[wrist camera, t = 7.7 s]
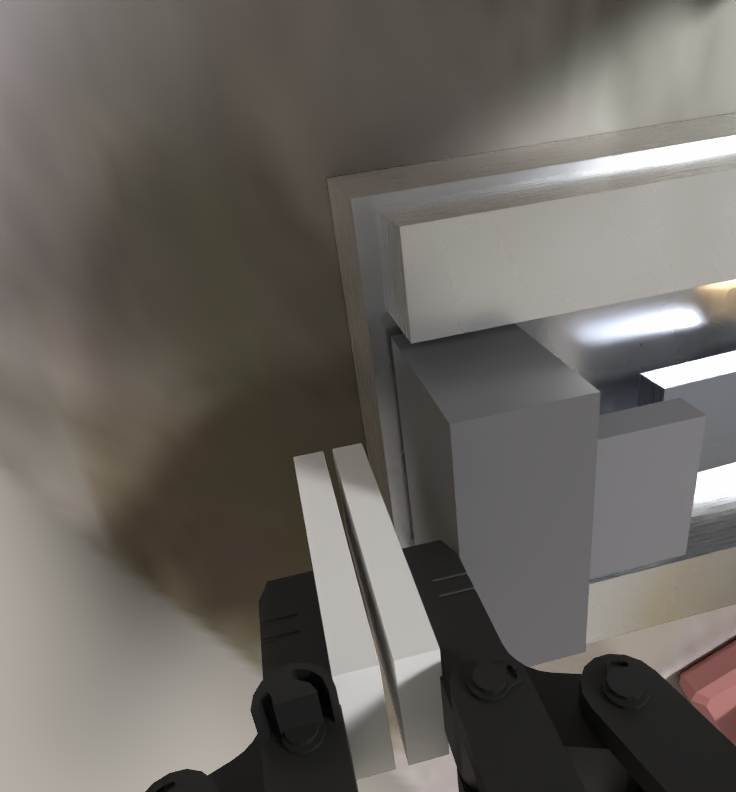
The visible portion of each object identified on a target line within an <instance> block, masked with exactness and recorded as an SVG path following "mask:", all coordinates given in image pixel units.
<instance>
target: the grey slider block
mask: <svg viewBox="0 0 736 792" xmlns="http://www.w3.org/2000/svg"><path fill="white" fill-rule="evenodd" d="M391 342H392V351H393V360H394V369H395V377H396V386H397V395H398V403H399V412H400V421H401V429H402V438H403V447H404V455H405V464H406V473H407V481H408V490H409V499H410V507H411V516H412V525H413V533H414V542H415V545H420V544H424V543H428V542H433V541H437V540H441V541H443V542H444V543H445V544H446V545H448V546H449V547H450V548H451V549H453V550H454V551H455V552H456V553H457V554H458V556H459V558H460V560H461V562H462V564H463V566H464V568H465V570H466V573H467V575H468V576H469V578H470V580H471V582H472V584H473V586H474V589H475V590H476V592H477V594H478V596H479V598H480V600H481V602H482V604H483V606H484V608H485V610H486V612H487V614H488V616H489V618H490V620H491V622H492V624H493V626H494V628H495V630H496V632H497V634H498V636H499V638H500V640H501V642H502V644H503V645H504V647H505V648H506V650H507V651H508V653H509V654H510V655H511V656H513V657H514V658H515V659H516V660H517V661H519V662H520V663H522V664H524V665H525V666H527V667H530V666H534V665H537V664H541V663H545V662H549V661H552V660H556V659H560V658H563V657H567V656H571V655H574V654H578V653H582V652H585V650H586V633H587V616H588V598H589V581H590V579H591V578H595V577H599V576H603V575H607V574H611V573H615V572H619V571H623V570H627V569H631V568H634V567H638V566H642V565H646V564H650V563H654V562H658V561H662V560H666V559H670V558H674V557H678V556H681V555H685V554H686V549H687V542H688V535H689V529H690V522H691V516H692V509H693V502H694V496H695V489H696V483H697V476H698V470H699V463H700V456H701V450H702V443H703V437H704V430H705V423H706V417H707V415H705V414H704V413H702V412H701V411H699V410H698V409H696V408H695V407H694V406H692V405H691V404H689V403H688V402H686V401H685V400H683V399H682V398H675V399H671V400H666V401H662V402H657V403H653V404H648V405H644V406H639V407H635V408H630V409H626V410H621V411H617V412H612V413H607V414H603V415H599V410H600V393H601V392H600V391H599V390H598V389H596V388H595V387H594V386H593V385H591V384H590V383H589V382H588V381H586V380H585V379H584V378H583V377H581V376H580V375H579V374H578V373H576V372H575V371H574V370H573V369H571V368H570V367H569V366H568V365H566V364H565V363H564V362H563V361H561V360H560V359H559V358H557V357H556V356H555V355H554V354H552V353H551V352H550V351H549V350H547V349H546V348H545V347H544V346H542V345H541V344H540V343H539V342H537V341H536V340H535V339H534V338H532V337H531V336H530V335H529V334H527V333H526V332H525V331H524V330H522V329H521V328H520V327H519V326H517V325H516V324H515V323H513V324H508V325H503V326H498V327H493V328H488V329H483V330H478V331H473V332H468V333H462V334H457V335H452V336H447V337H442V338H437V339H432V340H427V341H422V342H417V343H412V344H411V343H410V341H409V340H408V338H407V337H406V336H405V334H399V335H394V336H391Z"/></svg>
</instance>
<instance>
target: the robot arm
mask: <svg viewBox="0 0 736 792" xmlns="http://www.w3.org/2000/svg"><path fill="white" fill-rule="evenodd" d="M332 451H333V457H334V463H335V469H336V474H337V480H338V486H339V492H340V498H341V504H342V510H343V515H344V521H345V527H346V533H347V537H348V541H349V544H350V548H351V552H352V556H353V559H354V563H355V567H356V570H357V574H358V578H359V582H360V585H361V589H362V593H363V597H364V600H365V604H366V608H367V612H368V615H369V619H370V623H371V627H372V630H373V634H374V638H375V641H376V645H377V649H378V653H379V656H380V660H381V664H382V668H383V671H384V675H385V679H386V683H387V686H388V690H389V694H390V697H391V701H392V705H393V709H394V712H395V716H396V720H397V724H398V727H399V731H400V735H401V739H402V742H403V746H404V750H405V754H406V757H407V761H408V765H412V764H415V763H419V762H422V761H426V760H430V759H433V758H437V757H440V756H444V755H447V754H449V745H450V748H451V751H452V754H453V757H454V759H455V762H456V765H457V775H458V787H459V792H736V746H735V745H734V744H733V743H732V742H731V741H730V740H729V739H728V738H727V737H726V736H725V735H723V734H722V733H721V732H720V731H719V730H718V729H717V728H716V727H715V726H714V725H713V724H712V723H711V722H710V721H709V720H707V719H706V718H705V717H704V716H703V715H702V714H701V713H700V712H699V711H698V710H697V709H696V708H695V707H694V706H693V705H691V704H690V703H689V702H688V701H687V700H686V699H685V698H684V697H683V696H682V695H681V694H680V693H679V692H678V691H677V690H675V689H674V688H673V687H672V686H671V685H670V684H669V683H668V682H667V681H666V680H665V679H664V678H663V677H662V676H661V675H659V674H658V673H657V672H656V671H655V670H654V669H652V668H651V667H649V666H648V665H647V664H645V663H644V662H642V661H641V660H638V659H635V658H632V657H629V656H626V655H618V654H607V655H603V656H600V657H596V658H594V659H593V660H592V661H590V662H589V663H588V664H587V665H586V666H585V667H584V670H583V673H582V674H567V673H550V672H543V671H538V670H535V669H533V668H530V667H527V666H525V665H524V664H522V663H520V662H519V661H517V660H516V659H515V658H514V657H513V656H511V655H510V654H509V653H508V651H507V650H506V648H505V647H504V645H503V644H502V642H501V640H500V638H499V636H498V634H497V632H496V630H495V628H494V626H493V624H492V622H491V620H490V618H489V616H488V614H487V612H486V610H485V608H484V606H483V604H482V602H481V600H480V598H479V596H478V594H477V592H476V590H475V589H474V586H473V584H472V582H471V580H470V578H469V576H468V575H467V573H466V570H465V568H464V566H463V564H462V562H461V560H460V558H459V556H458V554H457V553H456V552H455V551H454V550H453V549H451V548H450V547H449V546H448V545H446V544H445V543H444V542H443V541H441V540H437V541H433V542H428V543H424V544H420V545H415V546H411V547H407V548H403V549H402V548H401V546H400V543H399V540H398V538H397V535H396V532H395V530H394V527H393V525H392V522H391V519H390V517H389V514H388V511H387V509H386V506H385V503H384V501H383V498H382V496H381V493H380V490H379V488H378V485H377V482H376V480H375V477H374V475H373V472H372V469H371V467H370V464H369V461H368V459H367V456H366V453H365V451H364V448H363V446H362V443H359V444H354V445H349V446H344V447H339V448H335V449H332ZM293 459H294V464H295V470H296V475H297V481H298V487H299V492H300V498H301V504H302V509H303V515H304V521H305V526H306V532H307V538H308V543H309V549H310V555H311V560H312V566H313V571H310V572H306V573H302V574H298V575H293V576H289V577H285V578H280V579H276V580H272V581H268V582H267V584H266V586H265V589H264V591H263V593H262V595H261V598H260V600H259V615H260V626H261V627H260V633H261V643H262V644H261V650H262V667H263V681H261V683H260V685H259V686H258V688H257V690H256V692H255V693H254V695H253V699H252V705H251V713H252V717H253V720H254V723H255V726H256V729H257V732H258V734H257V736H256V737H255V739H254V741H253V742H252V743H251V744H250V745H249V746H248V748H247V749H246V750H245V751H244V752H243V753H241V754H240V755H239V756H237V757H236V758H235V759H233V760H232V761H230V762H229V763H227V764H226V765H224V766H222V767H221V768H219V769H217V770H216V771H214V772H213V773H211V774H209V775H208V776H207V775H206V774H204V773H203V772H201V771H196V770H190V769H185V770H181V771H176V772H172V773H169V774H167V775H166V776H164V777H163V778H161V779H159V780H158V781H156V782H154V783H153V784H152V785H151V786H150V787H149V788H148V790H147V791H146V792H358V787H357V782H356V780H358V779H362V778H365V777H369V776H372V775H376V774H380V773H383V772H387V771H390V770H394V769H396V766H395V760H394V754H393V747H392V741H391V735H390V729H389V722H388V716H387V710H386V703H385V697H384V691H383V684H382V678H381V672H380V666H379V661H378V658H377V654H376V650H375V646H374V642H373V639H372V635H371V631H370V627H369V624H368V620H367V616H366V612H365V608H364V605H363V601H362V597H361V593H360V589H359V586H358V582H357V578H356V574H355V570H354V567H353V563H352V559H351V555H350V551H349V548H348V544H347V540H346V536H345V532H344V529H343V525H342V521H341V517H340V513H339V510H338V506H337V502H336V498H335V494H334V491H333V487H332V483H331V479H330V476H329V472H328V468H327V464H326V460H325V457H324V453H323V451H320V452H315V453H311V454H306V455H301V456H296V457H293ZM448 742H449V745H448Z"/></svg>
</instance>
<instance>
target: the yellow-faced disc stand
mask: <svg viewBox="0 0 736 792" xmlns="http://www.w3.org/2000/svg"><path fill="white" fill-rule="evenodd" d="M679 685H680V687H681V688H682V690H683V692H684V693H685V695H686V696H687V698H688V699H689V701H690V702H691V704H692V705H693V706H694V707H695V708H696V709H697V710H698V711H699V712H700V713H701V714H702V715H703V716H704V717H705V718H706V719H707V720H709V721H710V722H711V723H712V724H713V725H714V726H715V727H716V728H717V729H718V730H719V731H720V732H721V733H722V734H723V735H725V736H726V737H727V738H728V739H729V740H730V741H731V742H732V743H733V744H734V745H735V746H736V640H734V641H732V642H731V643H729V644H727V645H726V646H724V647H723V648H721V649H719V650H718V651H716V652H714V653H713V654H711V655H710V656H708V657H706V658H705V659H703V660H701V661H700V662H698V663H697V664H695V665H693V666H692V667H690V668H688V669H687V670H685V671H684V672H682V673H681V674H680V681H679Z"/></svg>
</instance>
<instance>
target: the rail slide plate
mask: <svg viewBox="0 0 736 792" xmlns="http://www.w3.org/2000/svg"><path fill="white" fill-rule="evenodd" d="M327 185H328V191H329V198H330V205H331V212H332V218H333V225H334V232H335V239H336V245H337V252H338V259H339V265H340V272H341V279H342V286H343V292H344V299H345V306H346V313H347V319H348V326H349V333H350V340H351V346H352V353H353V360H354V366H355V373H356V380H357V387H358V393H359V400H360V407H361V414H362V420H363V427H364V434H365V441H366V447H367V454H368V461H369V464H370V467H371V469H372V472H373V475H374V477H375V480H376V482H377V485H378V488H379V490H380V493H381V496H382V498H383V501H384V503H385V506H386V509H387V511H388V514H389V517H390V519H391V522H392V525H393V527H394V530H395V532H396V535H397V538H398V540H399V543H400V546H401V548H402V549H403V548H407V547H411V546H415V542H414V533H413V525H412V516H411V507H410V499H409V490H408V481H407V473H406V464H405V455H404V447H403V438H402V429H401V421H400V412H399V403H398V395H397V386H396V377H395V369H394V360H393V351H392V342H391V336H394V335H399V334H405V336H406V337H407V338H408V340H409V341H410V343H411V344H412V343H417V342H422V341H427V340H432V339H437V338H442V337H447V336H452V335H457V334H462V333H468V332H473V331H478V330H483V329H488V328H493V327H498V326H503V325H508V324H513V323H515V324H516V325H517V326H519V327H520V328H521V329H522V330H524V331H525V332H526V333H527V334H529V335H530V336H531V337H532V338H534V339H535V340H536V341H537V342H539V343H540V344H541V345H542V346H544V347H545V348H546V349H547V350H549V351H550V352H551V353H552V354H554V355H555V356H556V357H557V358H559V359H560V360H561V361H563V362H564V363H565V364H566V365H568V366H569V367H570V368H571V369H573V370H574V371H575V372H576V373H578V374H579V375H580V376H581V377H583V378H584V379H585V380H586V381H588V382H589V383H590V384H591V385H593V386H594V387H595V388H596V389H598V390H599V391H600V392H601V393H600V410H599V415H603V414H607V413H612V412H617V411H621V410H626V409H630V408H635V407H637V402H638V391H639V380H640V373H645V372H649V371H653V370H657V369H661V368H665V367H670V366H674V365H678V364H682V363H686V362H691V361H695V360H699V359H703V358H707V357H712V356H716V355H720V354H724V353H728V352H732V351H736V113H730V114H724V115H718V116H712V117H705V118H699V119H693V120H687V121H680V122H674V123H668V124H662V125H655V126H649V127H643V128H637V129H631V130H624V131H618V132H612V133H606V134H599V135H593V136H587V137H581V138H574V139H568V140H562V141H556V142H549V143H543V144H537V145H531V146H524V147H518V148H512V149H506V150H500V151H493V152H487V153H481V154H475V155H468V156H462V157H456V158H450V159H443V160H437V161H431V162H425V163H418V164H412V165H406V166H400V167H394V168H387V169H381V170H375V171H369V172H362V173H356V174H350V175H344V176H337V177H331V178H327ZM734 604H736V462H735V463H732V464H728V465H724V466H721V467H717V468H713V469H710V470H706V471H702V472H699V473H698V476H697V483H696V489H695V496H694V502H693V509H692V516H691V522H690V529H689V535H688V542H687V549H686V554H685V555H681V556H678V557H674V558H670V559H666V560H662V561H658V562H654V563H650V564H646V565H642V566H638V567H634V568H631V569H627V570H623V571H619V572H615V573H611V574H607V575H603V576H599V577H595V578H591V579H590V581H589V598H588V616H587V633H586V644H589V643H593V642H596V641H600V640H604V639H607V638H611V637H615V636H618V635H622V634H626V633H630V632H633V631H637V630H641V629H644V628H648V627H652V626H656V625H659V624H663V623H667V622H670V621H674V620H678V619H682V618H685V617H689V616H693V615H696V614H700V613H704V612H708V611H711V610H715V609H719V608H722V607H726V606H730V605H734Z"/></svg>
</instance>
